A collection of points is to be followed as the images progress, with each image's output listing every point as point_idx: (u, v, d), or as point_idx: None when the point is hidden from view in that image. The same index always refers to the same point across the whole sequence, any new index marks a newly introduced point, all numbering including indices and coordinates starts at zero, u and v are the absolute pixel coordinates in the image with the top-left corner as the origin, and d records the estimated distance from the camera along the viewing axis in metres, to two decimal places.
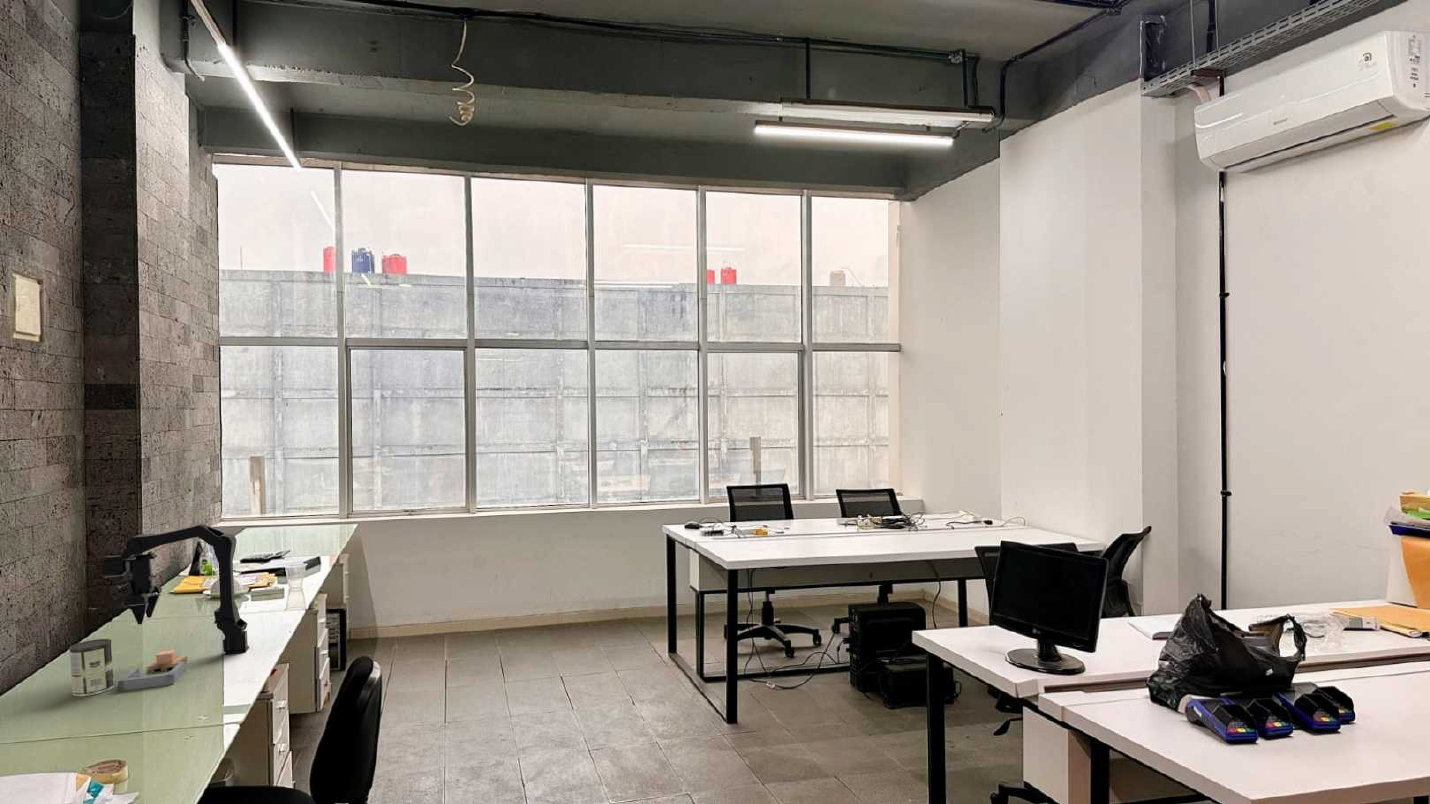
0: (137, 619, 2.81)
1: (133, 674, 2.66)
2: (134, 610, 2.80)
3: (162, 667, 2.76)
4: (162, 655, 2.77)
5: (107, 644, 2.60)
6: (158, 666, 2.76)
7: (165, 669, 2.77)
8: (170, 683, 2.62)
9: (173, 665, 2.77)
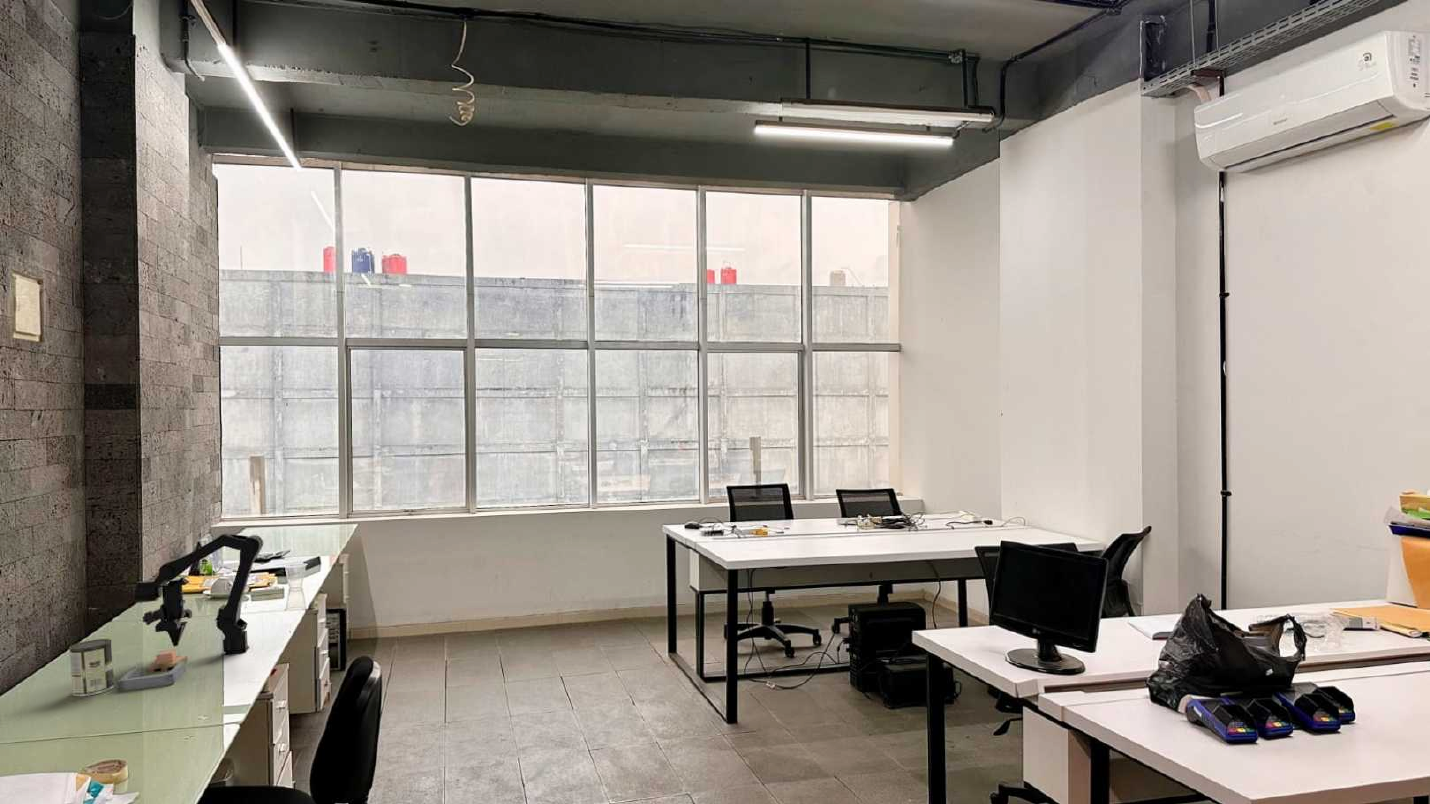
0: (173, 641, 2.88)
1: (133, 674, 2.66)
2: (170, 632, 2.87)
3: (162, 667, 2.76)
4: (162, 655, 2.78)
5: (107, 644, 2.60)
6: (158, 666, 2.76)
7: (165, 669, 2.77)
8: (170, 683, 2.62)
9: (173, 665, 2.77)
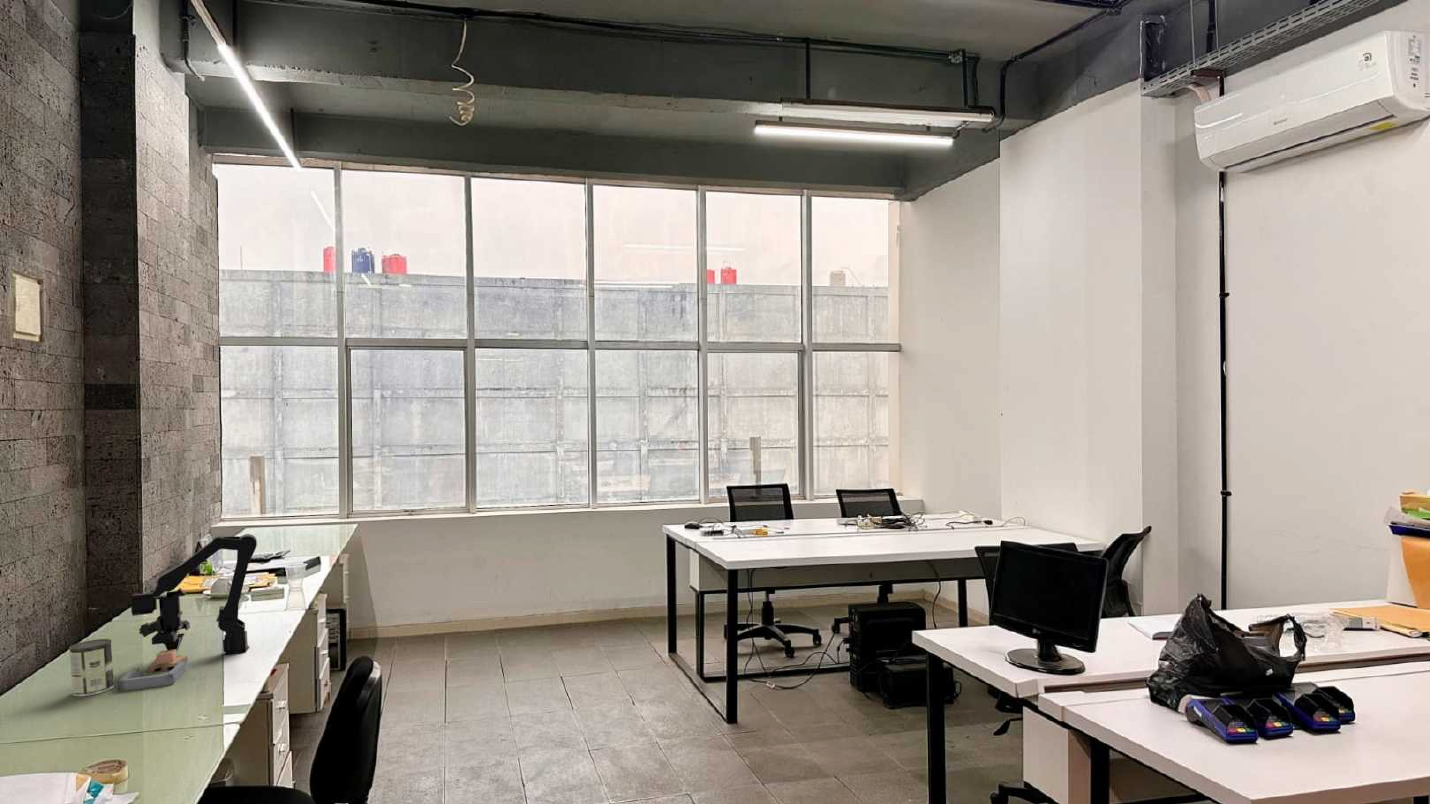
0: None
1: (133, 674, 2.66)
2: (167, 644, 2.84)
3: (162, 667, 2.77)
4: (162, 655, 2.78)
5: (107, 644, 2.60)
6: (158, 666, 2.76)
7: (165, 668, 2.77)
8: (170, 683, 2.62)
9: (173, 665, 2.77)
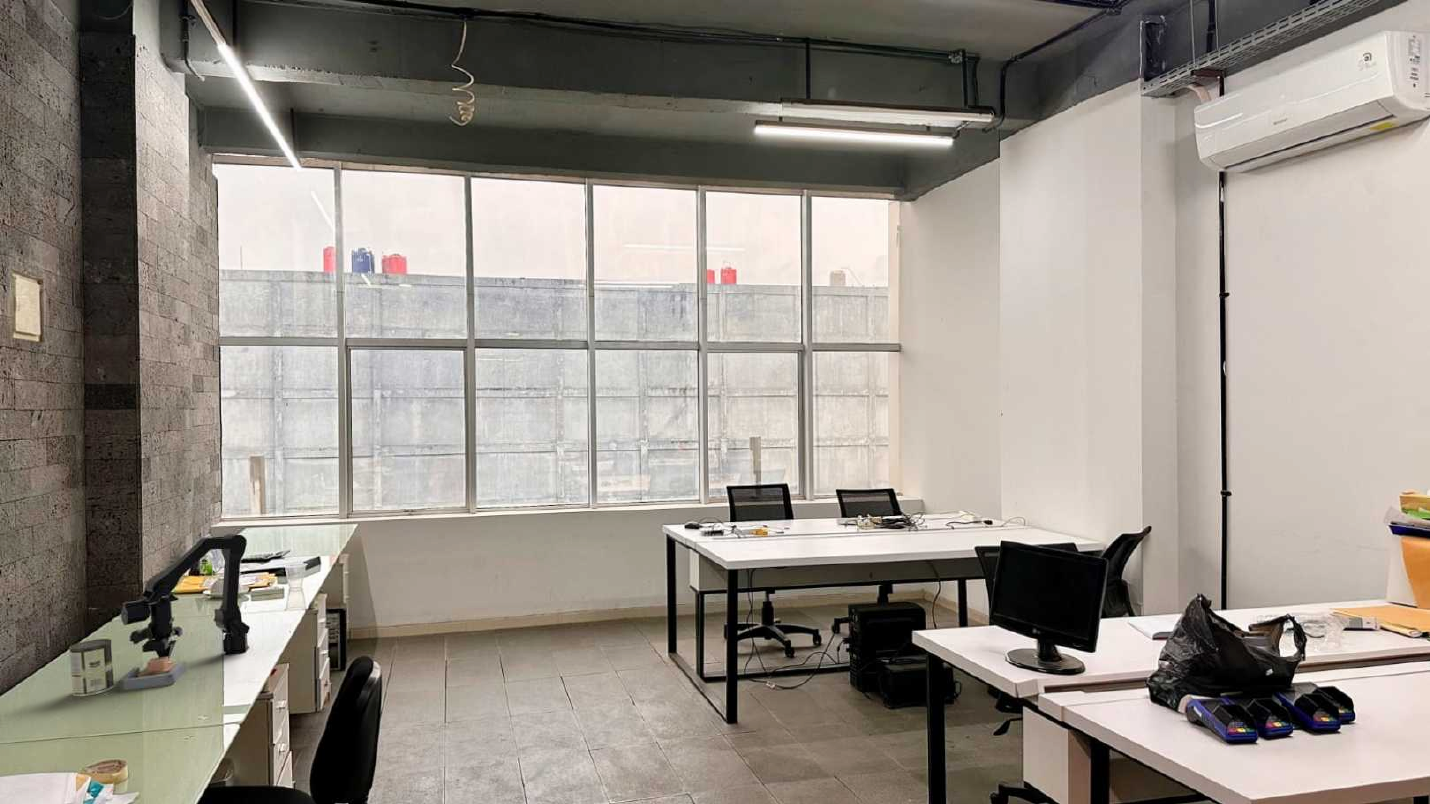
0: None
1: (133, 674, 2.66)
2: (159, 652, 2.76)
3: (153, 674, 2.68)
4: (153, 662, 2.69)
5: (107, 644, 2.60)
6: (149, 673, 2.68)
7: None
8: (170, 683, 2.62)
9: (165, 672, 2.69)
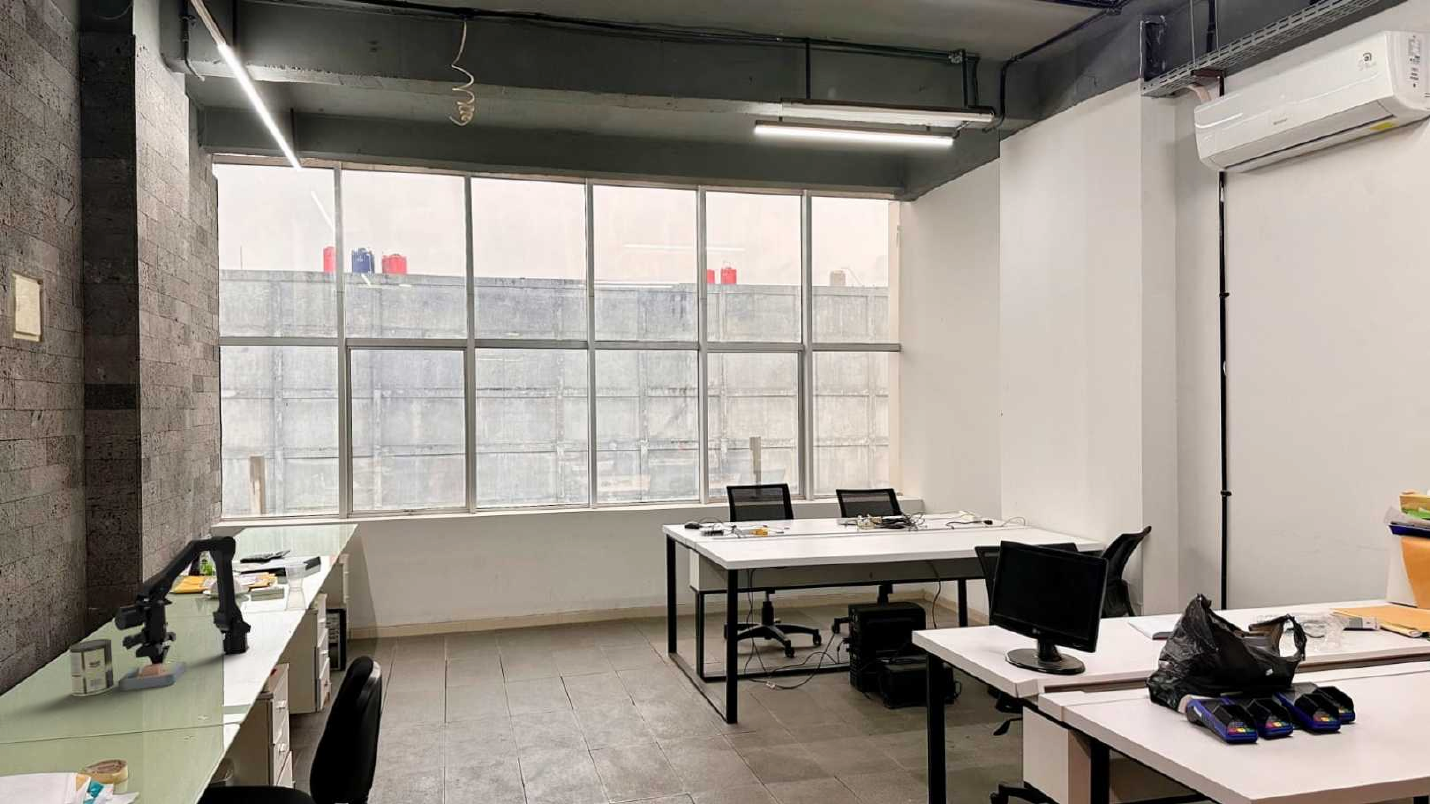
0: None
1: (133, 674, 2.66)
2: (152, 657, 2.69)
3: None
4: (147, 669, 2.63)
5: (107, 644, 2.60)
6: None
7: None
8: (170, 683, 2.62)
9: None
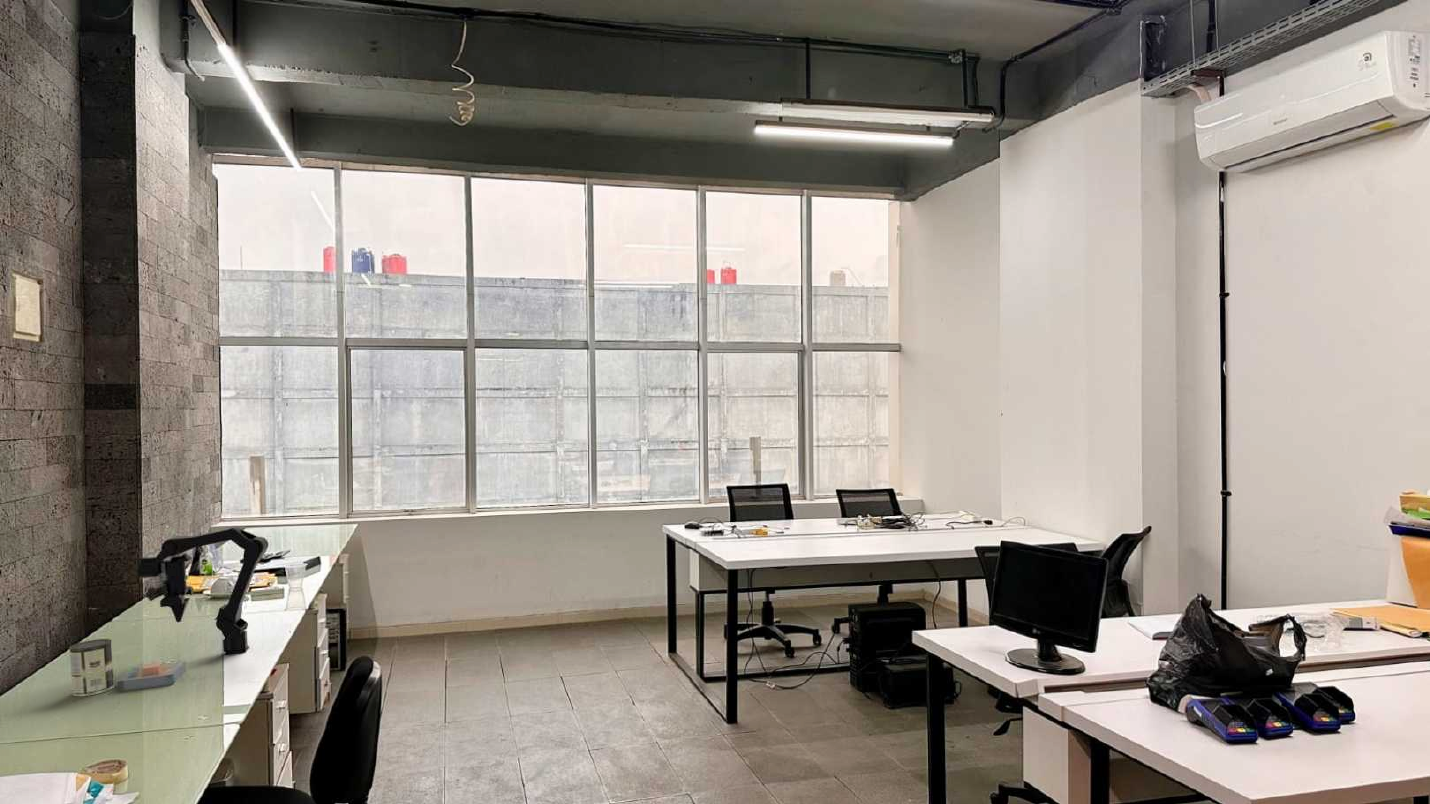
0: (176, 617, 2.89)
1: (133, 674, 2.66)
2: (173, 608, 2.89)
3: None
4: (148, 668, 2.64)
5: (107, 644, 2.60)
6: None
7: None
8: (170, 683, 2.62)
9: None
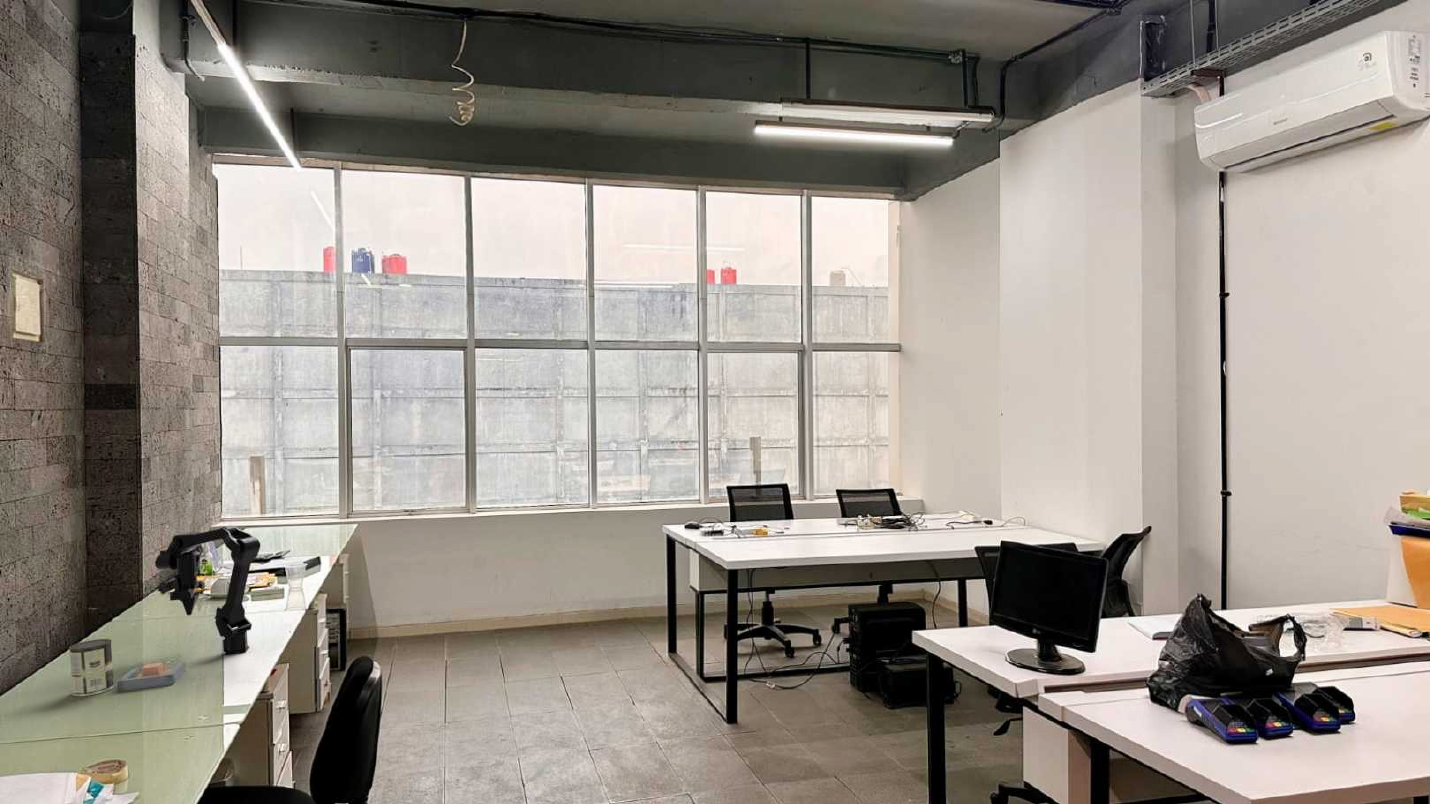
0: (187, 610, 2.98)
1: (133, 674, 2.66)
2: (184, 602, 2.97)
3: None
4: (148, 668, 2.64)
5: (107, 644, 2.60)
6: None
7: None
8: (170, 683, 2.62)
9: None
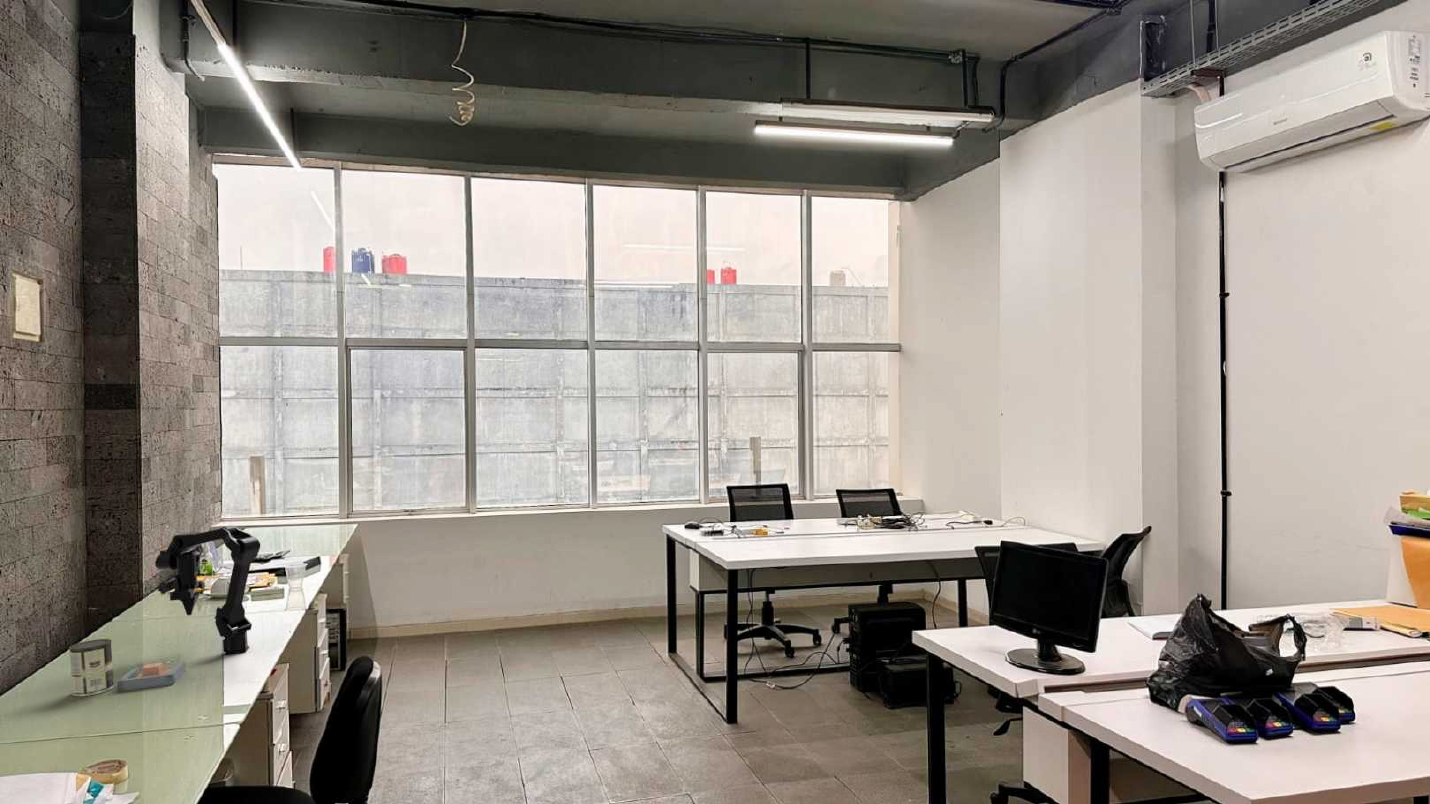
0: (187, 610, 2.98)
1: (133, 674, 2.66)
2: (184, 602, 2.97)
3: None
4: (148, 668, 2.64)
5: (107, 644, 2.60)
6: None
7: None
8: (170, 683, 2.62)
9: None
